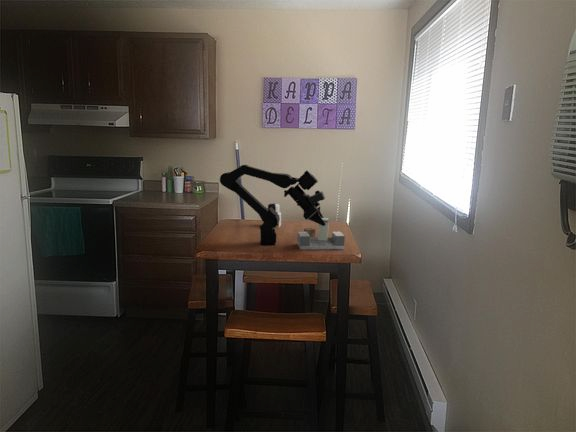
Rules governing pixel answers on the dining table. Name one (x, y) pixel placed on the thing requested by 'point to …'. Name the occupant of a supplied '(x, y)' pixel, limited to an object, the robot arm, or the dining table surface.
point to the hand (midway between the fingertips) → (325, 224)
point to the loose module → (323, 230)
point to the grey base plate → (320, 244)
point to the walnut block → (310, 231)
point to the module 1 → (303, 239)
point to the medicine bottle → (276, 208)
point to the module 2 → (338, 238)
